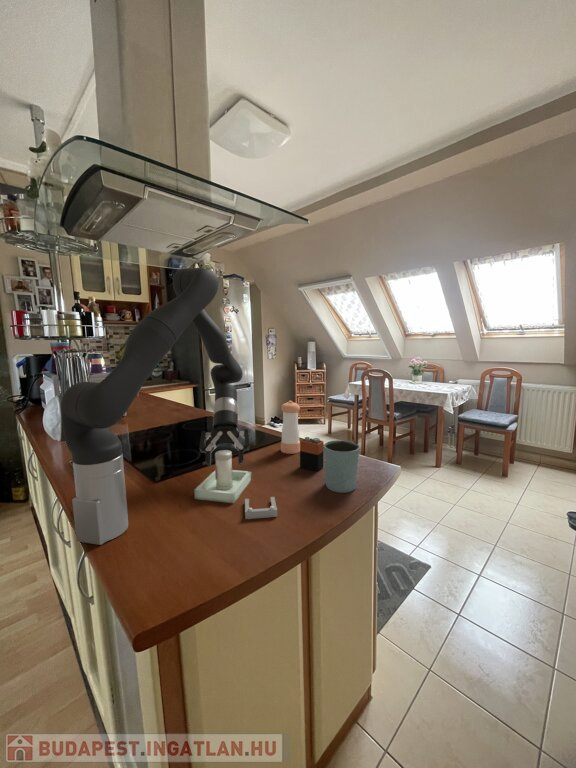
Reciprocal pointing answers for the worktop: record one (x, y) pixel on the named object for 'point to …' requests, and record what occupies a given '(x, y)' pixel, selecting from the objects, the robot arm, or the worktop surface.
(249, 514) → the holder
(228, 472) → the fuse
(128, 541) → the worktop surface
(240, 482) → the tray
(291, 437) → the salt shaker
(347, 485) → the teal cup
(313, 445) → the battery
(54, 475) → the worktop surface
